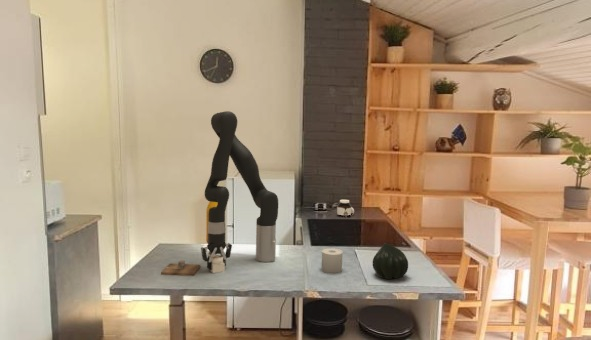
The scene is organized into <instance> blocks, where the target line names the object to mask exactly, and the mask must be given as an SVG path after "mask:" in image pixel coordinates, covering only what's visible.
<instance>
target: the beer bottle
mask: <svg viewBox="0 0 591 340" xmlns="http://www.w3.org/2000/svg"><path fill="white" fill-rule="evenodd" d="M217 204H218V202H211V201H208V205H207V207H206V243H207V244H208V223H209V209H210V208H212V207H217Z"/></svg>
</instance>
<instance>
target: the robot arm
mask: <svg viewBox="0 0 591 340" xmlns="http://www.w3.org/2000/svg"><path fill="white" fill-rule="evenodd" d="M210 123H211V124H210V125H211V128H212V130H213V131H214V132H215V134H216V135H217V138H218V139H219V140H218V145H217V147H216V150H215V152H214V155H213V158H212V160H211V161H212V162H211V168H210V169H211V170H210V176H209V178H208V181H207V183H206V186H205V189H204V198H205V200H207V201H208V202H210V201H211V202H218V204H217V207H212V208H210V209H209V223H208V243H207V245H206V246H204V247H202V246H201V247H200V252H201V257H202V260H203V261H204V262H206V268H207V269H208V271H210V270H212V262H211V260H212V258H213V257H214V255H221V256H223V262H224V263H225V267H226V266H227V259H228V258H230V257H231V252H232V248H233V245H232V243H230V242H228V243H226V231H227V228H226V211H227V210H226V209H227V207H228V206H227V205H228V202H229V199H230V191H229V189H228V187H226V186H221V185H219V183H220V182H222V181H223V182H224V181H226V180H227V178H228V171H229V163H230V162H229V161H230V158H231V160H232V162H233V164H234V166H235V168H236V170H237V171H238V173H239V174H240V176H241V178H242V180H243V182H244V183H245V185H246V187H247V188H248V190H249V193H250V195H251V198H252V200H253V203H254V204H255V206H257V208H258V209H260V213H259V214H260V215H259V216H258V217H257V218H256V223H255V224H256V225H255V226H256V230H255V231H256V232H255V233H256V235H255V238H256V240H255V260H256V261H258V262H261V263H269V262H275V261H276V257H277V256H276V255H277V254H276V253H277V251H276V249H277V248H276V246H277V244H276V243H277V239H276V232H277V231H276V229H277V227H276V225H277V224H276V223H277V219H278V217H279V216H278V215H279V198H278V195H277V194H276V193H275V192H272V191H271V190H270V191H269V189H267V187H265V185H264V183H263V181H262V180H261V176H260V171H259V166H258V163H257V160H256V158H255V157H254V155H253V153H252V152H251V151H250V149H249V148H248V147H247V146H245V145H244V143H243V142H242V141H241V140H239V138H238V137H237V136H236V131H237V129H238V118H237V116H236V114H235V113H234V112H233V111H228V110H226V111H221V112H217V113H214V114H213V115H212V117H211V119H210ZM225 248H226V250H225ZM224 250H225V251H224ZM207 252H208V254H207Z"/></svg>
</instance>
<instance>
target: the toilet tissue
mask: <svg viewBox="0 0 591 340" xmlns="http://www.w3.org/2000/svg"><path fill="white" fill-rule="evenodd" d="M343 255H344V254H343V250H341V249H339V248H334V247H333V248H331V247H330V248H324V249H322V251H321V271H322V272H323V273H326V274H332V275H333V274H340V273H342V271H343Z"/></svg>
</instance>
